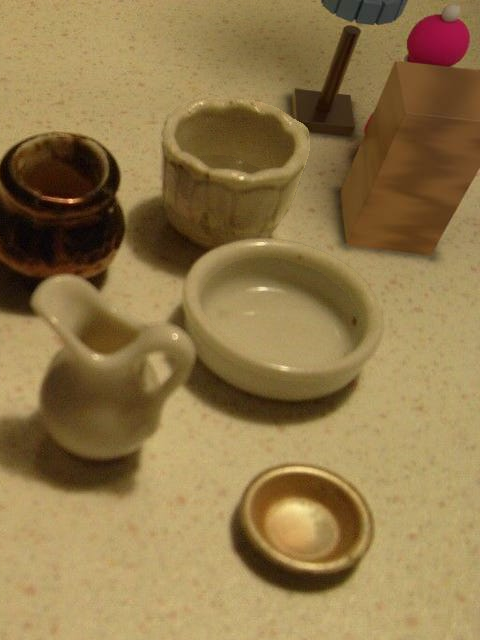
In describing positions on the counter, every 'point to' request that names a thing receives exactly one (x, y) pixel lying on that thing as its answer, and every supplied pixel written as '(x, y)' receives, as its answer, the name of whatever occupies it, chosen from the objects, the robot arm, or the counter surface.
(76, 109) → the counter surface
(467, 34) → the pepper mill
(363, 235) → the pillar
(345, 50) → the stand
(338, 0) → the ring
